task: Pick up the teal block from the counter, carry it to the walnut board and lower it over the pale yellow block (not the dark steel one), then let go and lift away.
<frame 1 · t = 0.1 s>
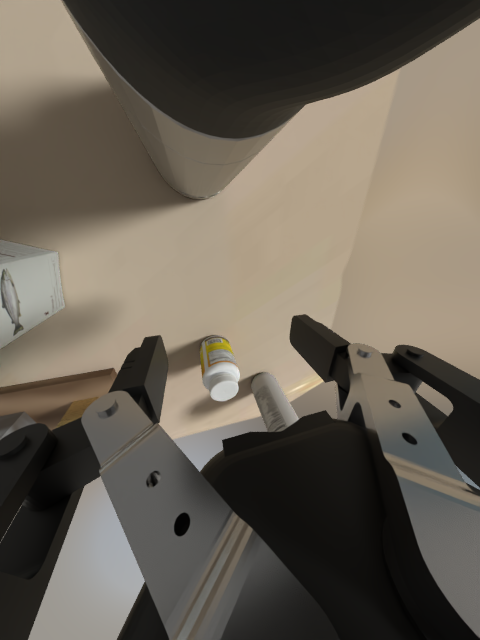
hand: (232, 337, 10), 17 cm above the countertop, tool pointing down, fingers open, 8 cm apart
energy drink can: (261, 379, 40), on the countertop
pale yellow block: (90, 405, 29), resting on post board
supplement box: (25, 273, 20), on the countertop
supplement bottle: (214, 345, 32), on the countertop
post board: (61, 405, 29), on the countertop
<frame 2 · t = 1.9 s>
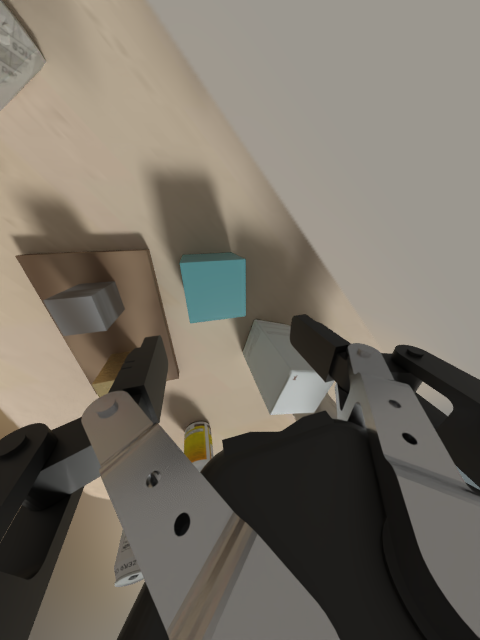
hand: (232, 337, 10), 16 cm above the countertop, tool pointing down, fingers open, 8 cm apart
teal block: (210, 277, 24), on the countertop
energy drink can: (151, 466, 40), on the countertop
pale yellow block: (129, 361, 25), resting on post board
supplement box: (265, 338, 32), on the countertop
supplement bottle: (197, 427, 38), on the countertop
post board: (121, 327, 24), on the countertop
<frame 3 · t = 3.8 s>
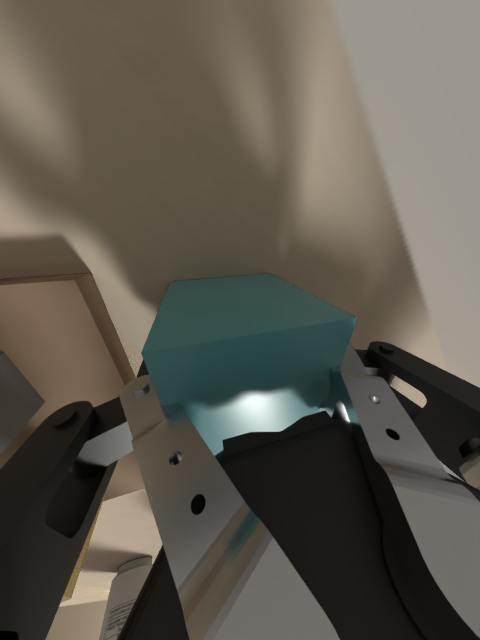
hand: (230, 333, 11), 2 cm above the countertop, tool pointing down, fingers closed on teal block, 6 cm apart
teal block: (226, 321, 12), on the countertop, touching gripper
energy drink can: (136, 562, 29), on the countertop
pale yellow block: (75, 476, 13), resting on post board
post board: (54, 419, 12), on the countertop
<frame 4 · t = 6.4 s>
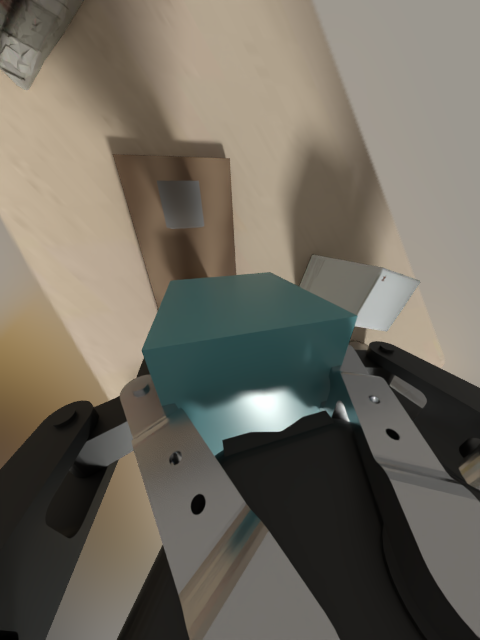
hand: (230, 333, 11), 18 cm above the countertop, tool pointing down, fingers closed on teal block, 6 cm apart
teal block: (226, 320, 12), point 16 cm above the countertop, touching gripper
supplement box: (318, 278, 32), on the countertop
post board: (191, 253, 24), on the countertop
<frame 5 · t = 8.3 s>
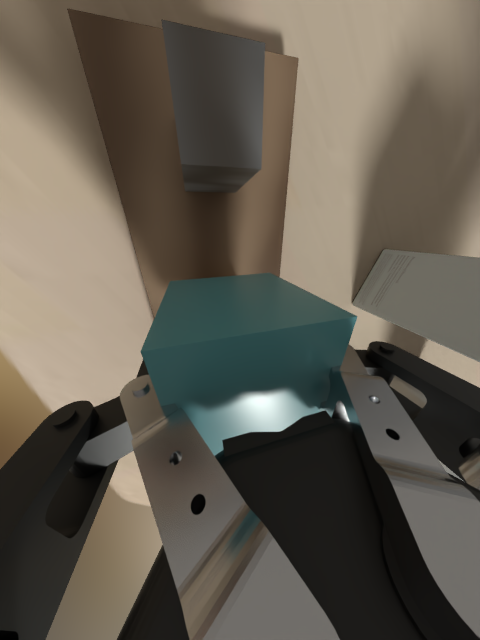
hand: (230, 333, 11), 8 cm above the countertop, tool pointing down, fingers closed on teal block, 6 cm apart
teal block: (226, 321, 12), point 6 cm above the countertop, touching gripper
supplement box: (382, 284, 23), on the countertop
post board: (212, 240, 15), on the countertop
when the fingers open (5 cm above the countertop, at t = 9.5 s): teal block drops 1 cm, resting on post board.
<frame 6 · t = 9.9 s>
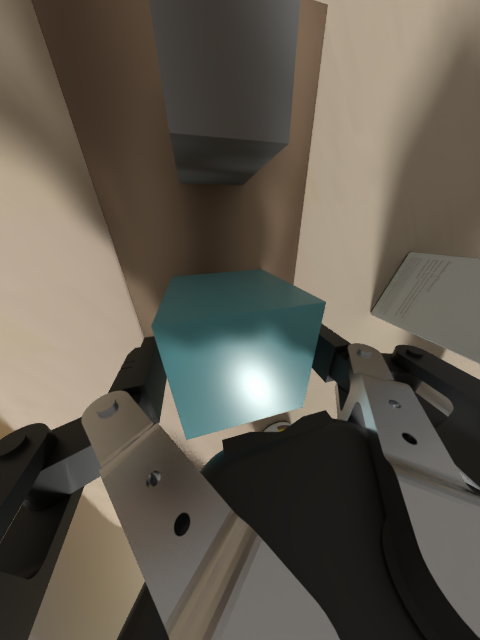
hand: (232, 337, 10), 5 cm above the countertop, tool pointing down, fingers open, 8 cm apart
teal block: (222, 313, 14), point 1 cm above the countertop, touching post board
supplement box: (404, 291, 20), on the countertop
post board: (214, 243, 13), on the countertop
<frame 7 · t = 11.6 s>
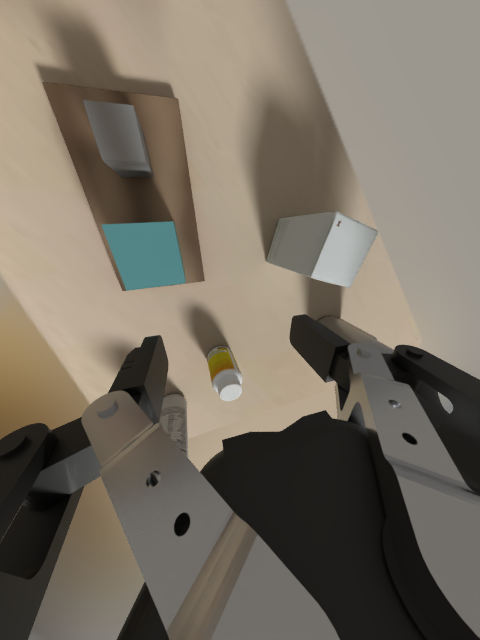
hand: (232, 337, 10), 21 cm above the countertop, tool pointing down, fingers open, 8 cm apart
teal block: (156, 251, 24), point 1 cm above the countertop, touching post board
energy drink can: (172, 400, 39), on the countertop
supplement box: (288, 246, 31), on the countertop
supplement bottle: (219, 354, 38), on the countertop
post board: (148, 210, 23), on the countertop
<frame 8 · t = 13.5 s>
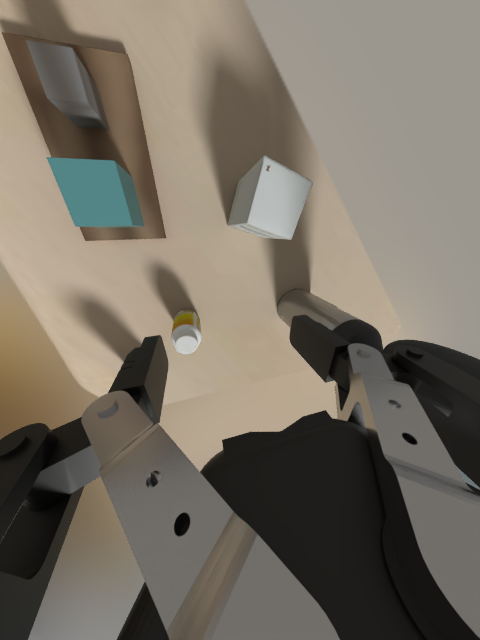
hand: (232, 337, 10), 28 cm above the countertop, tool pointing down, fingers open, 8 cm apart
teal block: (116, 203, 26), point 1 cm above the countertop, touching post board
supplement box: (249, 212, 33), on the countertop
supplement bottle: (187, 319, 39), on the countertop
post board: (107, 164, 25), on the countertop
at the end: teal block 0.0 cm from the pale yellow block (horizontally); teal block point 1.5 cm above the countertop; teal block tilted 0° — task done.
